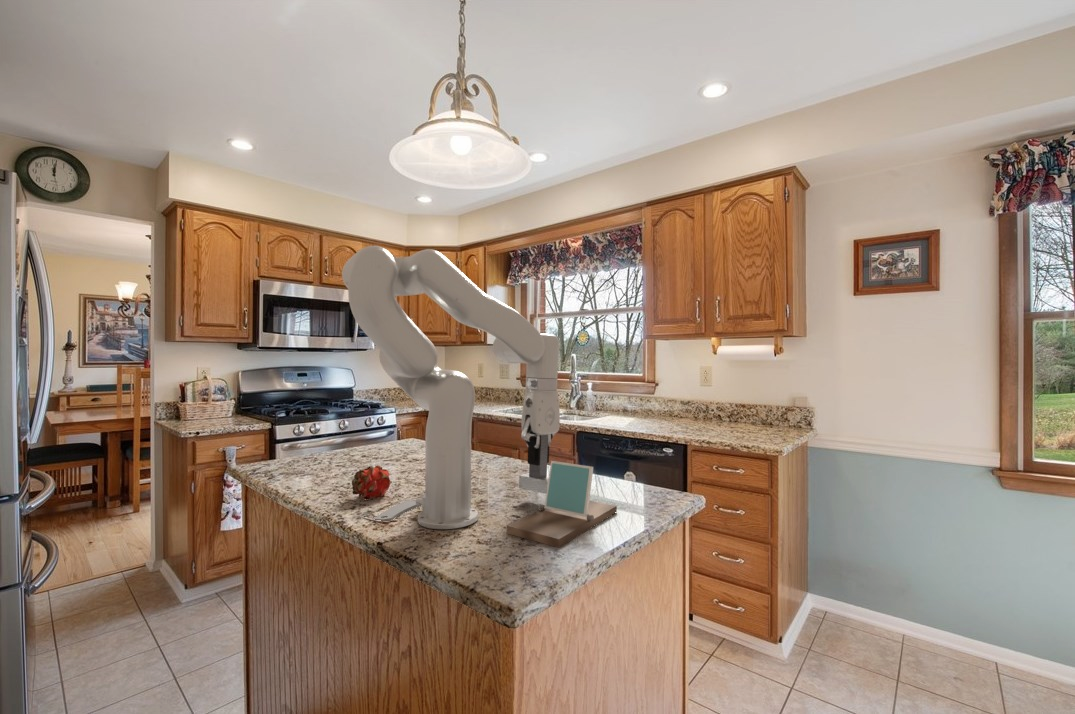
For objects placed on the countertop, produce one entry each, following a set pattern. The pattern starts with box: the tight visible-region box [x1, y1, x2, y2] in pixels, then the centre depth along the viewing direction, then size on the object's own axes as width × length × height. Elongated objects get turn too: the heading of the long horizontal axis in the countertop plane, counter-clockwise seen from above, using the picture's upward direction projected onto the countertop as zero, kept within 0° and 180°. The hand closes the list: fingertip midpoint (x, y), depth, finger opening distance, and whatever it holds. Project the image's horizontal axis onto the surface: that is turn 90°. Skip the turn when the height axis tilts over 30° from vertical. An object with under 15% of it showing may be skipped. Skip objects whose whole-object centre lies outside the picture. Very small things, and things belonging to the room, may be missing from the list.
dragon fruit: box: [351, 465, 393, 501], centre depth 117 cm, size 8×8×12 cm
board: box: [506, 500, 618, 548], centre depth 99 cm, size 13×24×3 cm, turn 145°
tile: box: [544, 460, 594, 517], centre depth 100 cm, size 10×10×1 cm
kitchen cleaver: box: [372, 499, 422, 521], centre depth 111 cm, size 24×1×10 cm
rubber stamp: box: [518, 431, 549, 495], centre depth 113 cm, size 4×8×14 cm, turn 55°
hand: (538, 462), depth 113 cm, fingers closed on rubber stamp, 3 cm apart
